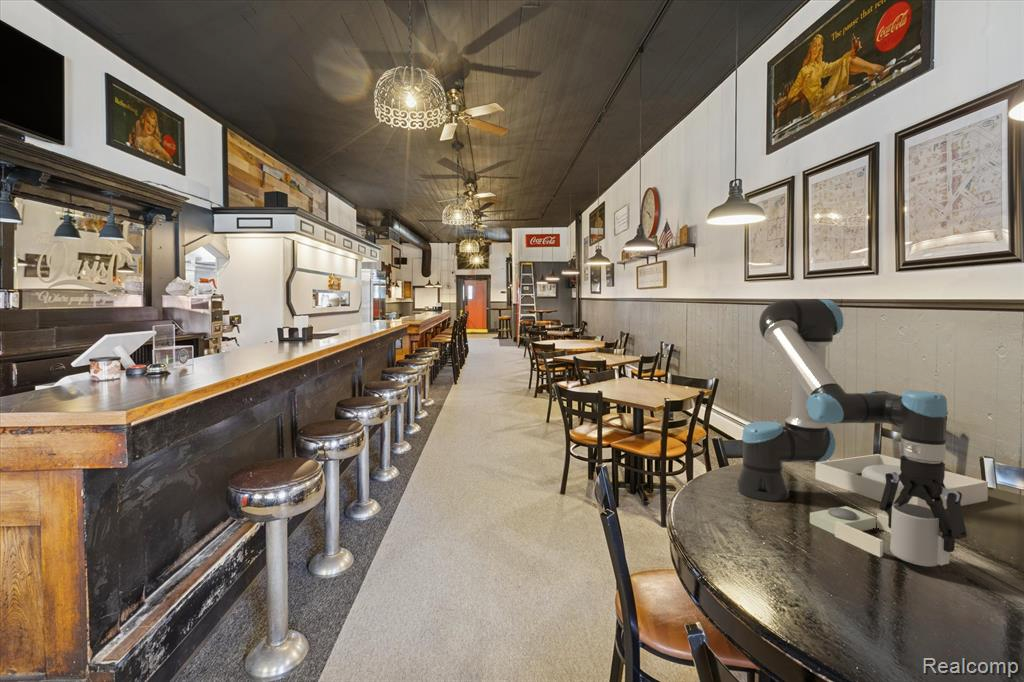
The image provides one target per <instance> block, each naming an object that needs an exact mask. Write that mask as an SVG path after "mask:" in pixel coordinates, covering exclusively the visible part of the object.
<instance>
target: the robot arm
mask: <svg viewBox="0 0 1024 682" xmlns="http://www.w3.org/2000/svg"><path fill="white" fill-rule="evenodd" d="M758 326H759V331H760V335H761V336H762V337H763V339H764V340H765V342H766V343H767V344H768V345H771V346H773V347H774V349H775V350H776V351H777V353H778V354H779V356H780V357H781V359H782V360H783V362H784V363H785V364H786V366H787V367H788V368H789V370H790V372H791V373H792V383H791V384H792V386H791V389H792V390H791V403H790V406H791V407H790V409H791V410H790V416H788V417H787V418H785V423H784V426H783V425H782V424H781V423H780V422H777V421H765V420H764V421H763V420H762V421H755V422H750V423H748V424H746V425H745V426H744V427H743V430H742V438H741V439H742V468H741V472H740V475H739V478H738V480H737V482H736V489H737V491H738V492H739V493H740V494H742V495H744V496H747V497H749V498H752V499H757V500H762V501H766V502H767V501H769V502H779V501H780V502H781V501H785V500H788V499H789V497H790V489H789V487H788V485H787V482H786V478H785V476H784V471H783V469H784V468H783V465H784V464H783V463H811V464H813V463H814V464H816V463H817V462H824V461H829V460H830V458H832V457H833V455H834V453H835V450H836V438H835V437H834V436H835V435H834V433H833V431H832V430H831V429H830V428H829V427H828V424H829V425H836V424H888V425H889V424H890V425H892V426H896V427H899V428H901V434H900V436H901V439H900V440H901V441H900V453H901V454H902V456H900V458H899V459H900V470H901V474H900V475H899V474H897V473H895V472H893V473H887V474H886V475H885V477H886V485H885V489H884V492H883V496H882V499H881V502H880V504H879V509H880V511H883V512H885V513H887V516H889V518H888V521H889V522H888V526H889V528H891V518H892V506H893V505H894V504H897V503H898V504H899V507H900V506H902V505H904V504H905V503H906V504H907V503H908V502H909V501H910V499H911V498H912V497H919V498H920V499H922V500H925V501H926V503H927V505H928V506H930V508H931V511H932V513H933V515H934V517H935V519H936V518H939V528H940V531H941V535H938V548H937V564H938V566H944V565H948V564H950V553H952V552H954V551H955V546H956V540H962V539H964V538H965V539H966V538H967V537H968V533H967V529H966V524H965V519H964V514H963V510H962V506H961V504H960V502H961V498H962V494H961V493H960V492H958V491H957V492H953V491H951V490H949V489H946V487H945V485H944V483H943V480H944V477H945V471H946V463H945V462H944V461H946V450H947V449H946V446H947V445H946V444H947V443H946V442H947V422H948V414H949V412H948V402H947V397H946V395H944V394H942V393H939V392H934V391H927V390H906V391H904V392H903V393H902V395H899V394H896V393H892V392H889V391H884V390H874V389H873V390H868V391H866V392H864V393H861V392H860V393H859V392H856V393H854V392H853V393H852V392H851V393H850V392H845V390H844V389H843V388H842V386H841V385H840V384H839V383H838V381H836V379H835V378H834V376H833V375H832V374H831V373H830V371H829V370H828V368H826V358H827V357H826V355H827V347H828V346H829V345H830V344H832V343H833V340H834V336H835V335H838V334H839V333H840V332H841V330H842V329H843V327H844V315H843V312H842V310H841V308H840V306H839V305H838V304H837V303H836V302H834V301H833V300H831V299H823V298H811V299H810V298H809V299H808V298H807V299H781V300H776V301H774V302H771V304H768V305H767V306H766V307H765V309H764V310H763V311H762V313H761V314H760V317H759V321H758ZM900 481H901V483H902V484H903V486H904V488H903V489H902V490H901V492H900V495H899V496H898V498H897V499H896V501H895V502H894V503H893V501H894V498H895V494H896V491H897V488H898V482H900ZM942 493H943V494H944V495H945V497H944V498H945V499H947V500H946V505H947V509H945V508H944V506H943V501H942V498H941V496H940V495H941V494H942ZM933 499H934V501H933Z"/></svg>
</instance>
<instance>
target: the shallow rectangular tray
mask: <svg viewBox="0 0 1024 682" xmlns="http://www.w3.org/2000/svg"><path fill="white" fill-rule="evenodd" d="M900 459H901V458H897V457H892V456H888V455H884V454H881V453H880V454H879V453H875V454H868V455H861V456H854V457H847V458H841V459H833V460H826V461H823V462H815V478H814V479H815V480H817V481H820V482H823V483H825V484H829V485H832V486H834V487H836V488H840V489H843V490H845V489H846V491H848V490H849V491H848V492H852V493H855V494H857V495H860V496H863V497H866V498H869V499H872V500H875V501H877V502H880V503H881V499H882V496H883V492H884V489H885V485H886V484H885V483H882V482H879V481H875V480H872V479H869V478H866V477H862V475H860V474H862V471H863V469H864V468H866V467H868V466H872V465H893V466H900ZM858 474H859V475H858ZM943 483H944V485H945V487H946V489H949V490H951V491H953V492H957V491H958V492H960V493H961V494H962V498H961V502H960V504H961V507H962V506H968V505H973V504H978V503H982V502H988V495H989V494H988V492H989V489H988V488H989V482H988V480H987V481H986V480H983V479H980V478H974V477H970V476H966V475H963V474H958V473H954V472H951V471H948V470H945V477H944V480H943ZM901 490H902V489H901V488H897V491H896V494H895V498H894V501H893V503H894V502H895V501H896V499H897V498H898V496H899V495H900V492H901ZM940 496H941V498H942V501H943V506H944V508H945V510H947V505H946V500H947V499H945V498H944V497H945V495H944V494H943V493H942V494H941V495H940ZM933 501H934V499H933ZM907 504H913V505H918V506H922V507H926V508H928V509H931V508H930V506H928V505H927V503H926V501H925V500H922V499H920V498H919V497H912V498H911V499H910V501H909V502H908V503H907Z"/></svg>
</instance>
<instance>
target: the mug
mask: <svg viewBox="0 0 1024 682" xmlns="http://www.w3.org/2000/svg"><path fill="white" fill-rule="evenodd" d="M938 535H942V533H941V531H940V528H939V518H936V519H935V517H934V515H933V513H932V511H931V509H928V508H926V507H922V506H918V505H913V504H906V503H905V504H904V505H902V506H900V507H899V504H898V503H897V504H894V505H893V506H892V518H891V533H890V542H889V544H890V545H889V549H890V553H892V555H894V556H895V557H896V558H897V559H900V560H902V561H903V562H908V563H909V564H913V565H917V566H921V567H930V568H932V567H937V566H939V564H937V548H938Z"/></svg>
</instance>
